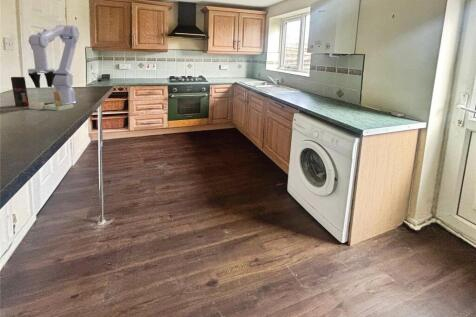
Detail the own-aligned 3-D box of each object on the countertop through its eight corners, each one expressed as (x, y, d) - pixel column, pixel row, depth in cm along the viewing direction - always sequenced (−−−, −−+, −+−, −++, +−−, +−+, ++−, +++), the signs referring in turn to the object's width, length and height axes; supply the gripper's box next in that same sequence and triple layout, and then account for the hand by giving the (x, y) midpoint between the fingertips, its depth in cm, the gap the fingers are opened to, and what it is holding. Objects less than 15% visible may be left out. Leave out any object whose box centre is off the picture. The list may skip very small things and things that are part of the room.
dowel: (58, 106, 170) (56, 91, 168) (63, 107, 170) (61, 91, 167) (54, 107, 168) (52, 92, 165) (59, 108, 167) (57, 92, 164)
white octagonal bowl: (37, 107, 170) (36, 101, 169) (47, 108, 169) (46, 102, 168) (26, 109, 164) (25, 103, 163) (36, 110, 163) (36, 104, 162)
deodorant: (22, 108, 167) (17, 78, 162) (12, 107, 168) (7, 77, 163) (31, 106, 172) (27, 77, 167) (22, 105, 173) (17, 76, 169)
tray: (60, 106, 175) (59, 102, 174) (74, 108, 173) (73, 104, 172) (43, 109, 165) (42, 105, 164) (58, 111, 163) (57, 107, 162)
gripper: (34, 60, 156) (38, 88, 160) (58, 60, 170) (61, 87, 174) (23, 59, 158) (27, 87, 162) (47, 59, 172) (50, 86, 176)
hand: (43, 87), depth 168 cm, fingers open, 7 cm apart
